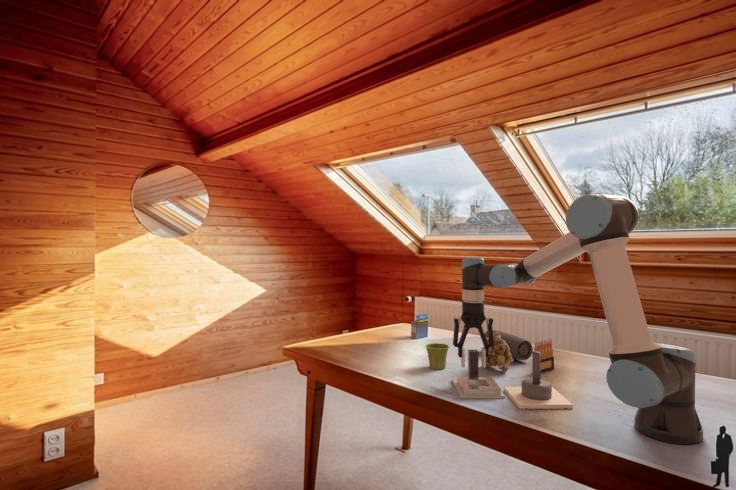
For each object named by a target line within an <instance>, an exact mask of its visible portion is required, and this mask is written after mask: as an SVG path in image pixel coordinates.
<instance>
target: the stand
mask: <svg viewBox="0 0 736 490" xmlns="http://www.w3.org/2000/svg"><path fill="white" fill-rule="evenodd" d="M531 358H532V363H531V364H532V371H531V372H532V378H526V379H522V380H521V386H503V389H504V390H503V391H504V392H505V393H506V395H507V396H509V398H510V399H511V401H513V403H514V404H515V405H516V406H517V408H518V409H522V410H523V409H526V408H527V409H528V410H530V409H533V410H534V409H538V410H539V409H548V410H549V409H552V410H554V409H559V410H560V409H564V408H568V410H569V409H572V410H573V408H574V406H573V405H574V404H572V402H570V400H568V399H567V398H566V397H564V396H563V395H562V394H561V393H560V392H559V391H558V390H557V389H556V388H555V387H553V386H552V383H551V382H549V381H547V380H544V379H541V373H540V352H538V351H534V350H533V352H532V355H531ZM564 410H565V409H564Z"/></svg>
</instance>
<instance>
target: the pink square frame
mask: <svg viewBox="0 0 736 490" xmlns="http://www.w3.org/2000/svg"><path fill="white" fill-rule="evenodd" d="M467 357H468V358H467V360H468V361H467V362H468V363H467V369H468V370H467V372H468V373H467V376H466V377H465V376H463V377H462V376H461V377H460V376H459V377H458V376H457V377H456V379H457V384H458V386H459V388H460V389H461V391H462V393H463V395H501V392H502V388H501V387H500V386H499V384H498V383H497V382H496V381H495V380H494V379H493V378H492V377H491V376H479V351H478V350H477V349H468V350H467Z"/></svg>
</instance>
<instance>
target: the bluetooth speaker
mask: <svg viewBox="0 0 736 490" xmlns="http://www.w3.org/2000/svg"><path fill="white" fill-rule="evenodd" d="M492 330H493V334H494V333H495V332H498V333H499V334H500V335H501V339H503V340H505V343H507V345H508V346H509V349H510V353H511V356H512V358H513V361H515V360H520V361H527V360H529V359H530V358H532V352H533V351H534V348H533V346H532V342H530V341H529V340H527V339H525V338H522V337H519V336H518V335H517V336H516V335H515V334H511V333H508V332H504V331H500V330H497V329H492ZM484 334H485V337H486V338H488V331H487V330H486V331H485V332H484Z"/></svg>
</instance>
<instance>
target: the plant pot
mask: <svg viewBox="0 0 736 490" xmlns="http://www.w3.org/2000/svg"><path fill="white" fill-rule="evenodd" d="M425 348H426V352H427V357H428V363H429V368H431V369H432V370H437V371H439V370H444V369H446V366H447V364H446V363H447V356H448V351H449V348H450V345H448V344H446V343H440V342H438V343H437V342H433V343H427V344H425Z"/></svg>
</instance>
